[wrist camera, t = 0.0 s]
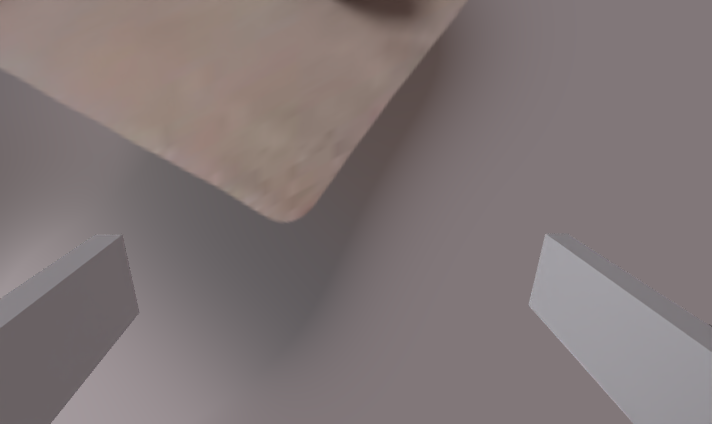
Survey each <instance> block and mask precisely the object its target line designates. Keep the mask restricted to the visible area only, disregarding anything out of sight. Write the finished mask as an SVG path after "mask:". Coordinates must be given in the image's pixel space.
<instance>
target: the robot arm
mask: <svg viewBox="0 0 712 424" xmlns="http://www.w3.org/2000/svg"><path fill="white" fill-rule="evenodd" d="M529 306H530V307H531V309H533V311H534V312H535V313H536V314H537V315H538V316H539V317H540V319H541V320H542V321H543V322H544V323H545V324H546V325H547V327H548V328H549V329H550V330H551V331H552V332H553V333H554V334H555V336H556V337H557V338H558V339H559V340H560V341H561V342H562V343H563V345H564V346H565V347H566V348H567V349H568V350H569V351H570V353H571V354H572V355H573V356H574V357H575V358H576V359H577V360H578V362H579V363H580V364H581V365H582V366H583V367H584V368H585V369H586V371H588V373H589V374H590V375H591V376H592V377H593V378H594V379H595V381H596V382H597V383H598V384H599V385H600V386H601V387H602V389H603V390H604V391H605V392H606V393H607V394H608V395H609V397H610V398H611V399H612V400H613V401H614V402H615V403H616V404H617V406H618V407H619V408H620V409H621V410H622V411H623V412H624V413H625V414H626V416H627V417H628V418H629V419H630V420H631V421H632V422H633V423H634V424H712V326H711V325H709V324H707V323H705V322H704V321H702V320H700V319H699V318H698V317H696V316H694V315H692V314H691V313H690V312H688V311H687V310H685V309H684V308H682V307H680V306H679V305H677V304H676V303H674V302H673V301H671V300H670V299H668V298H666V297H665V296H663V295H662V294H660V293H659V292H657V291H656V290H654V289H653V288H651V287H650V286H648V285H646V284H645V283H643V282H642V281H640V280H639V279H637V278H636V277H634V276H633V275H631V274H629V273H628V272H626V271H625V270H623V269H622V268H620V267H619V266H617V265H615V264H614V263H612V262H611V261H609V260H608V259H606V258H605V257H603V256H602V255H600V254H599V253H597V252H595V251H594V250H592V249H591V248H589V247H588V246H586V245H585V244H583V243H581V242H580V241H578V240H577V239H575V238H573V237H572V236H570V235H569V234H545V238H544V242H543V246H542V251H541V255H540V259H539V263H538V267H537V271H536V276H535V280H534V284H533V288H532V293H531V297H530V301H529ZM138 314H139V309H138V304H137V299H136V295H135V290H134V285H133V281H132V276H131V272H130V267H129V262H128V258H127V253H126V248H125V244H124V239H123V235H94V236H92V237H91V238H89V239H88V240H86V241H85V242H83V243H82V244H80V245H79V246H78V247H76V248H75V249H73V250H72V251H70V252H69V253H67V254H66V255H65V256H63V257H61V258H60V259H58V260H57V261H55V262H54V263H52V264H51V265H49V266H48V267H47V268H45V269H43V270H42V271H41V272H39V273H37V274H36V275H35V276H33V277H32V278H30V279H29V280H27V281H26V282H24V283H23V284H21V285H20V286H18V287H17V288H15V289H14V290H13V291H11V292H9V293H8V294H7V295H5V296H4V297H2V298H0V424H51V422H52V421H53V420H54V419H55V417H56V416H57V415H58V414H59V412H60V411H61V410H62V409H63V407H64V406H65V405H66V404H67V402H68V401H69V400H70V399H71V397H72V396H73V395H74V394H75V392H76V391H77V390H78V389H79V387H80V386H81V385H82V384H83V382H84V381H85V380H86V379H87V377H88V376H89V375H90V374H91V372H92V371H93V370H94V369H95V367H96V366H97V365H98V364H99V362H100V361H101V360H102V359H103V357H104V356H105V355H106V354H107V352H108V351H109V350H110V349H111V347H112V346H113V345H114V344H115V342H116V341H117V340H118V339H119V337H120V336H121V335H122V334H123V332H124V331H125V330H126V329H127V327H128V326H129V325H130V324H131V322H132V321H133V320H134V319H135V317H136V316H137V315H138Z"/></svg>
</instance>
